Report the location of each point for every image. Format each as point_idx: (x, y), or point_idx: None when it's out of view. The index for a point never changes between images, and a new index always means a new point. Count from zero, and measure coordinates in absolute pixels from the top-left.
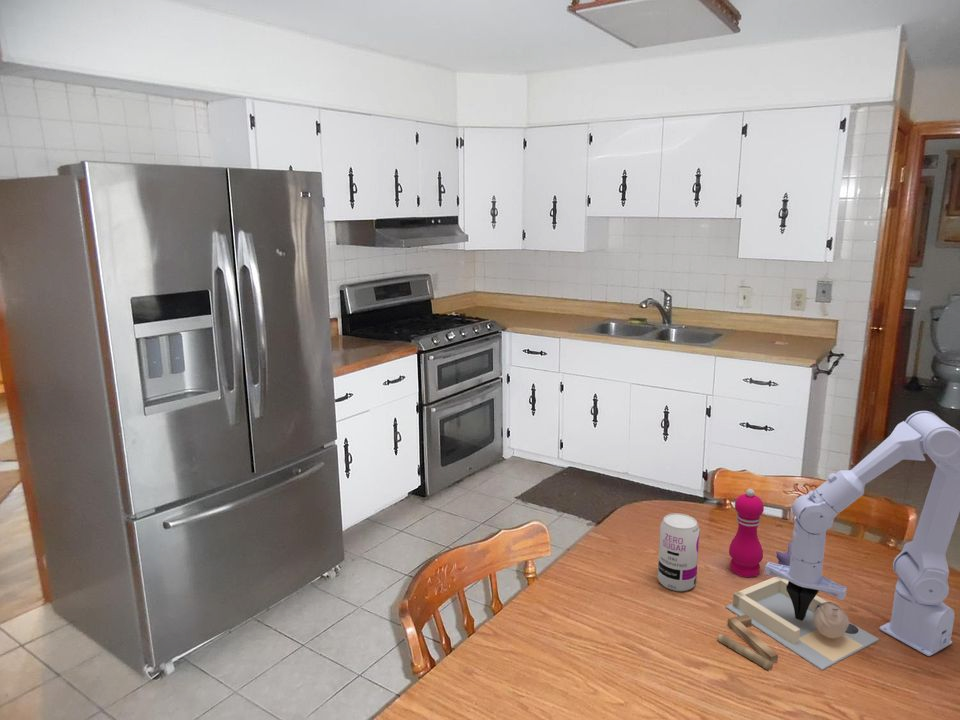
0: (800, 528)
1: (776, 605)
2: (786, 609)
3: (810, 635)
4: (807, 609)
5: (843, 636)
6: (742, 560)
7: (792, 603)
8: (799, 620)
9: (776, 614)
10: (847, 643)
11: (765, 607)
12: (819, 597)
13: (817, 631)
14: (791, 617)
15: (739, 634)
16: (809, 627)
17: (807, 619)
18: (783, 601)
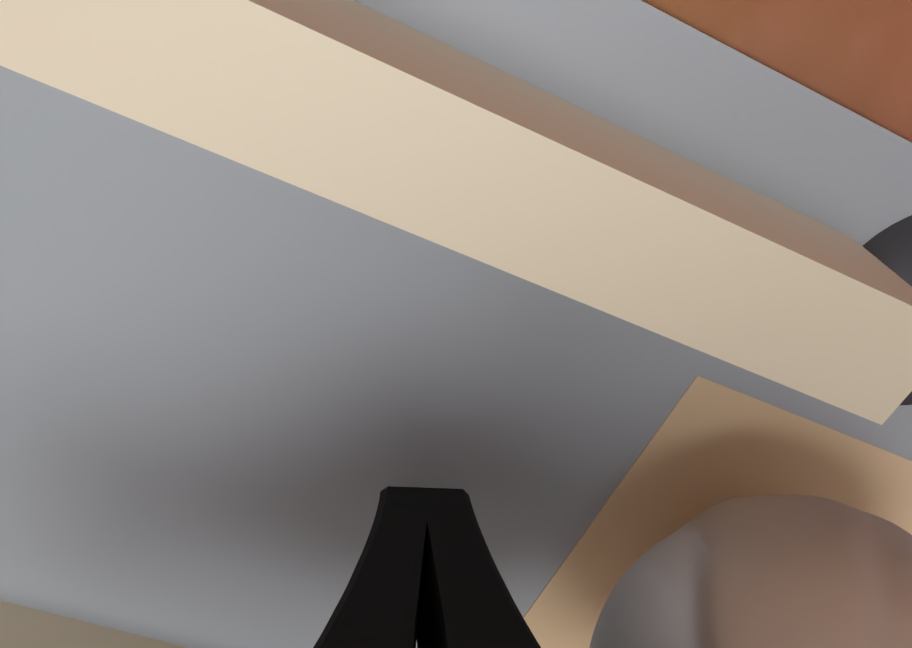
0: None
1: (77, 335)
2: (213, 349)
3: (558, 618)
4: (487, 549)
5: (859, 478)
6: None
7: (218, 164)
8: (410, 464)
9: (167, 497)
10: None
11: (3, 443)
12: (610, 179)
13: (610, 535)
14: (320, 460)
15: None
16: (528, 515)
17: (482, 400)
18: (98, 191)
